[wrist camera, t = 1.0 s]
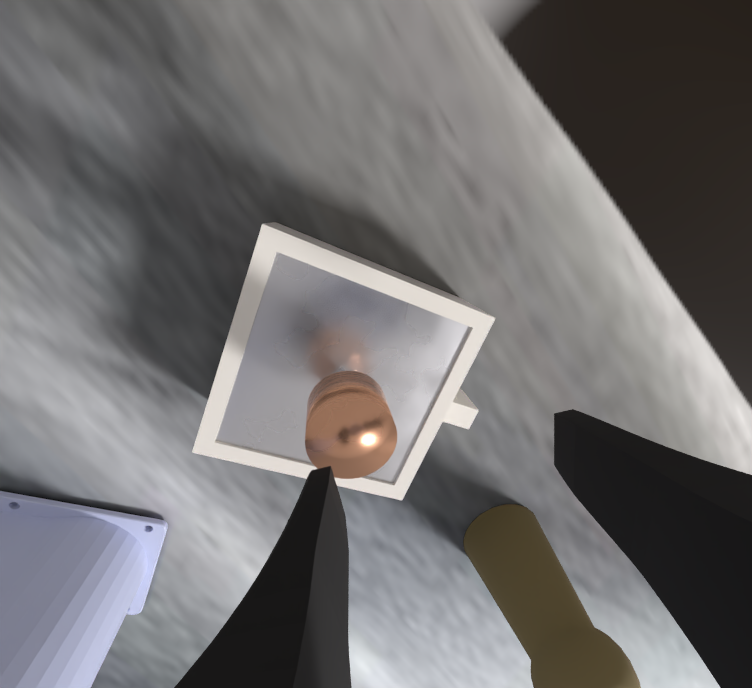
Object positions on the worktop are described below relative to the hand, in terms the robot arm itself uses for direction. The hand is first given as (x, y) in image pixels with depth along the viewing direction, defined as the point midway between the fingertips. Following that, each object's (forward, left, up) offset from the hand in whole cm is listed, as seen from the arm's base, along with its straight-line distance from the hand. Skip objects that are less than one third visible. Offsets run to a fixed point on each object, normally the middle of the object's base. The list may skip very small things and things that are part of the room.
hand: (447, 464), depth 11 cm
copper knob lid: (-3, -1, -7) cm, 7 cm away
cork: (+14, -11, -11) cm, 21 cm away
